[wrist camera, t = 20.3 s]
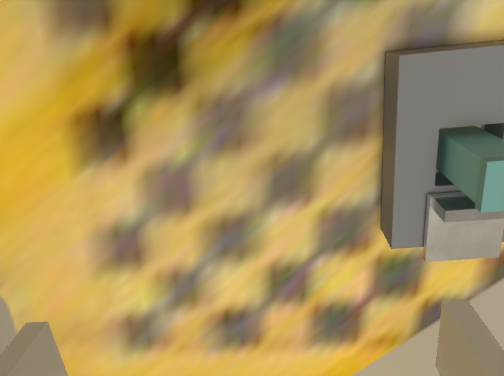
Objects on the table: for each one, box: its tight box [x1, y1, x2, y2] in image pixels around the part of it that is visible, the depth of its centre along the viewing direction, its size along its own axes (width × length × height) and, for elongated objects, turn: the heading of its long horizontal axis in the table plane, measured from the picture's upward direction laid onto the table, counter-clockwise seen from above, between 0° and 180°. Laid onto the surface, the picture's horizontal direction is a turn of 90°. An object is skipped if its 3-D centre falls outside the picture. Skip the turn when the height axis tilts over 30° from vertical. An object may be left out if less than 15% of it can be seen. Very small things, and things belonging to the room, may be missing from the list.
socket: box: [381, 40, 504, 249], centre depth 40 cm, size 20×14×4 cm
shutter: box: [423, 192, 504, 262], centre depth 39 cm, size 8×8×4 cm
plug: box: [436, 126, 504, 212], centre depth 36 cm, size 4×4×11 cm
